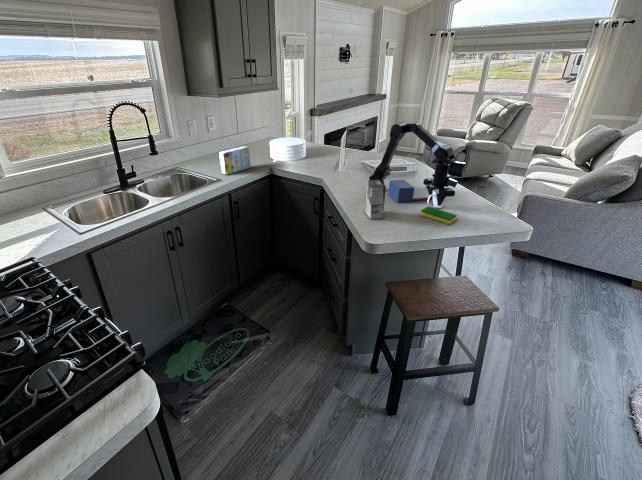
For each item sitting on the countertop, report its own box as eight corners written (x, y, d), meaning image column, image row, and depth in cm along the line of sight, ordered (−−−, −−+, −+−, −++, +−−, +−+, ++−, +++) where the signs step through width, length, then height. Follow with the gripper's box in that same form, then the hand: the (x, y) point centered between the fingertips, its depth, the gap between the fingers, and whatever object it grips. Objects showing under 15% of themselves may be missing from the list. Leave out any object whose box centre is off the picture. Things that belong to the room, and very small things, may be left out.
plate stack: (273, 151, 272) (273, 137, 267) (307, 151, 268) (307, 137, 263) (267, 160, 247) (266, 145, 242) (304, 160, 243) (303, 145, 238)
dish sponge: (427, 210, 159) (428, 205, 158) (456, 219, 150) (457, 214, 149) (419, 215, 155) (420, 210, 154) (449, 224, 145) (450, 219, 144)
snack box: (246, 166, 234) (244, 145, 228) (250, 167, 231) (249, 146, 225) (221, 173, 221) (218, 151, 215) (225, 175, 217) (223, 153, 211)
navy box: (398, 203, 168) (399, 188, 165) (387, 194, 180) (389, 180, 176) (443, 199, 170) (446, 185, 167) (430, 190, 182) (432, 177, 179)
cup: (448, 208, 161) (451, 193, 157) (431, 211, 158) (434, 196, 155) (438, 202, 167) (441, 187, 164) (422, 205, 165) (424, 190, 161)
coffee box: (383, 218, 153) (386, 186, 146) (370, 219, 152) (372, 187, 146) (377, 210, 161) (379, 179, 154) (364, 211, 161) (366, 180, 154)
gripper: (468, 178, 148) (462, 209, 154) (445, 166, 165) (440, 194, 171) (445, 180, 147) (440, 211, 153) (424, 167, 164) (420, 196, 170)
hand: (435, 203), depth 162 cm, fingers closed on cup, 6 cm apart
